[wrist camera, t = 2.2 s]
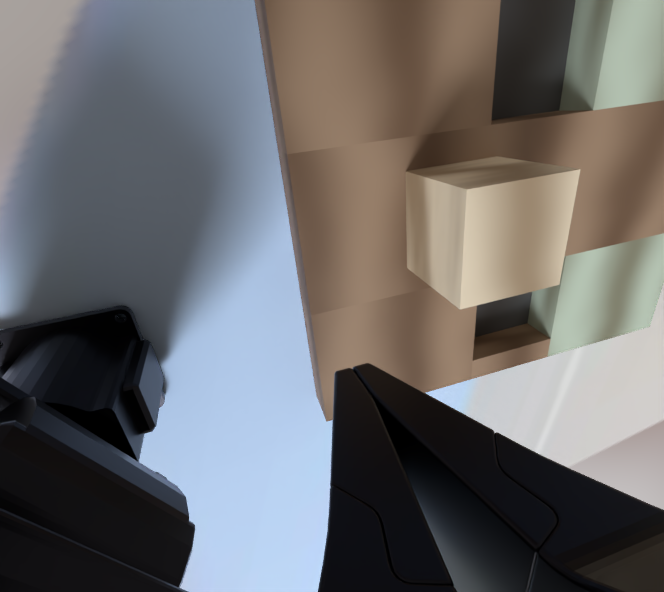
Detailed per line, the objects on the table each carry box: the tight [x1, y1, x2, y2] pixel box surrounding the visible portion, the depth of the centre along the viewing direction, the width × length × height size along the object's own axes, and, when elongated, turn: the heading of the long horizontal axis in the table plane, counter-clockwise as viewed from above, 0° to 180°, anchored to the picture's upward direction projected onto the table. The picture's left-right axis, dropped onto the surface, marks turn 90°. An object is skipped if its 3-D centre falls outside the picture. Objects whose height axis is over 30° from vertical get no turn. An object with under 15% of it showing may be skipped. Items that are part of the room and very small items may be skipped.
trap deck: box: [255, 0, 664, 421], centre depth 22 cm, size 25×23×2 cm
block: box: [406, 156, 580, 310], centre depth 18 cm, size 5×5×5 cm
